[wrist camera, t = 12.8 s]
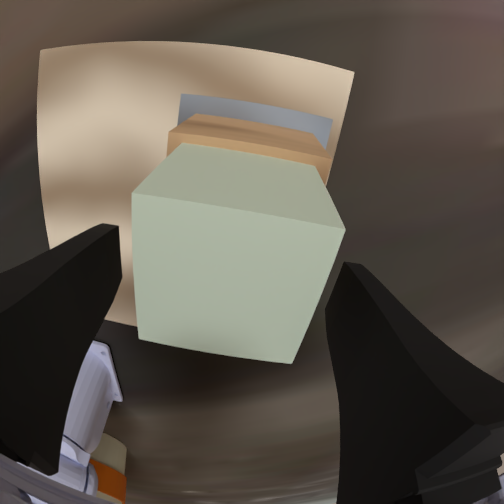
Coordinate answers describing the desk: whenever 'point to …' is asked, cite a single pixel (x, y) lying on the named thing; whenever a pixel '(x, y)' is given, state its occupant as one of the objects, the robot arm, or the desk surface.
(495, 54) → the desk surface
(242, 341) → the sage block
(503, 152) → the desk surface
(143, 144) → the baseplate
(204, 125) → the oak block
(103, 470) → the reusable coffee cup
